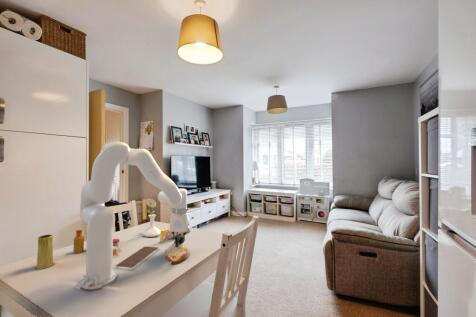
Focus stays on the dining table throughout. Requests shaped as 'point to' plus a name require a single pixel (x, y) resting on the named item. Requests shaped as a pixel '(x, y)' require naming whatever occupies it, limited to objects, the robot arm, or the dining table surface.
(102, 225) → the robot arm
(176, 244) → the knife
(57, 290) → the dining table surface
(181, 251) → the slice of bread
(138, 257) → the board
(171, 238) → the candy box
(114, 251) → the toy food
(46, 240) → the vase
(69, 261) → the dining table surface
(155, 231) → the flower in vase
